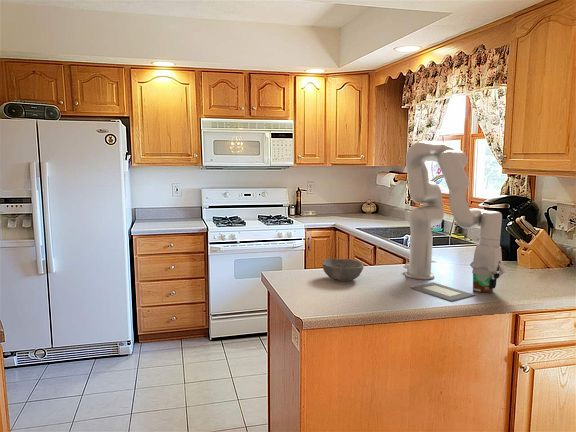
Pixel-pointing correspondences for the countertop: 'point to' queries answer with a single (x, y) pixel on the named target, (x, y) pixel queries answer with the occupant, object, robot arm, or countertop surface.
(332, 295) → the countertop surface
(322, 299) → the countertop surface
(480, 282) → the food container
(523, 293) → the countertop surface
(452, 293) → the mat
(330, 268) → the bowl
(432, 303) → the countertop surface
